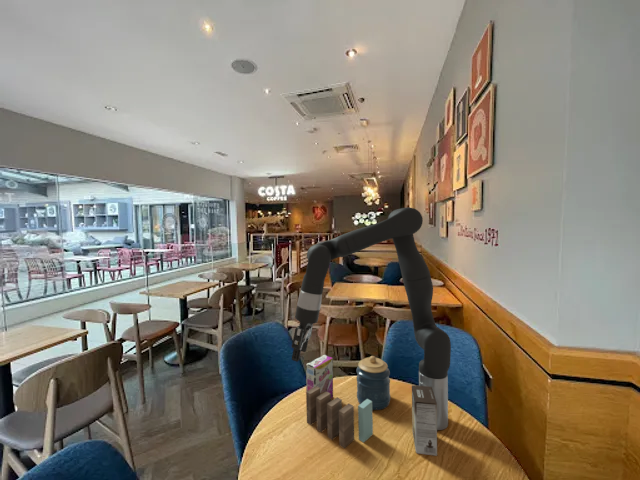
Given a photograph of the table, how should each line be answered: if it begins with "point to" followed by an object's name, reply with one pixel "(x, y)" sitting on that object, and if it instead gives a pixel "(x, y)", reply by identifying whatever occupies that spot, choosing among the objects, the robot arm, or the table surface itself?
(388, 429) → the table surface
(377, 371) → the canister
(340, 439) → the domino
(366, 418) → the domino
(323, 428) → the domino
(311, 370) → the candy bar box
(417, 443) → the coffee box
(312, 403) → the domino
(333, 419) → the domino
